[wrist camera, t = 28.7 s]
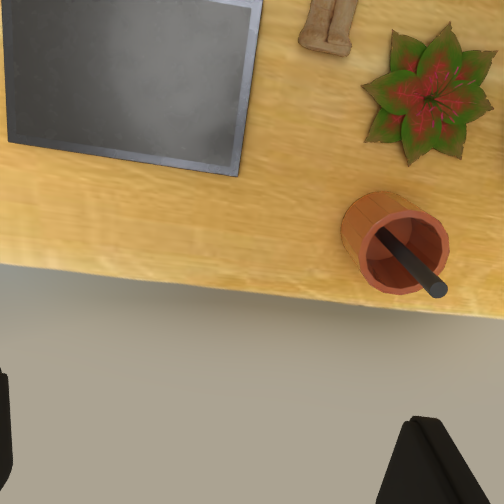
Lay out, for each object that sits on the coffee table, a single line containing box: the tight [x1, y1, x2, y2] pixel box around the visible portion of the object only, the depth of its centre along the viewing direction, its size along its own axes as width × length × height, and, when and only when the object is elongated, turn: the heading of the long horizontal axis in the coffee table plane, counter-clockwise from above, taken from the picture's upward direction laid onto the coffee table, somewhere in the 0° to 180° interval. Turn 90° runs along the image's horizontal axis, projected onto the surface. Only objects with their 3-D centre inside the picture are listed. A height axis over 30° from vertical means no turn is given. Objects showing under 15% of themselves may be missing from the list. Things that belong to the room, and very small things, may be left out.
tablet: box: [1, 0, 263, 177], centre depth 34 cm, size 20×14×1 cm
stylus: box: [375, 226, 448, 298], centre depth 33 cm, size 1×1×13 cm
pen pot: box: [341, 192, 450, 295], centre depth 37 cm, size 7×7×7 cm
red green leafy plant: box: [361, 22, 498, 167], centre depth 34 cm, size 12×12×5 cm
